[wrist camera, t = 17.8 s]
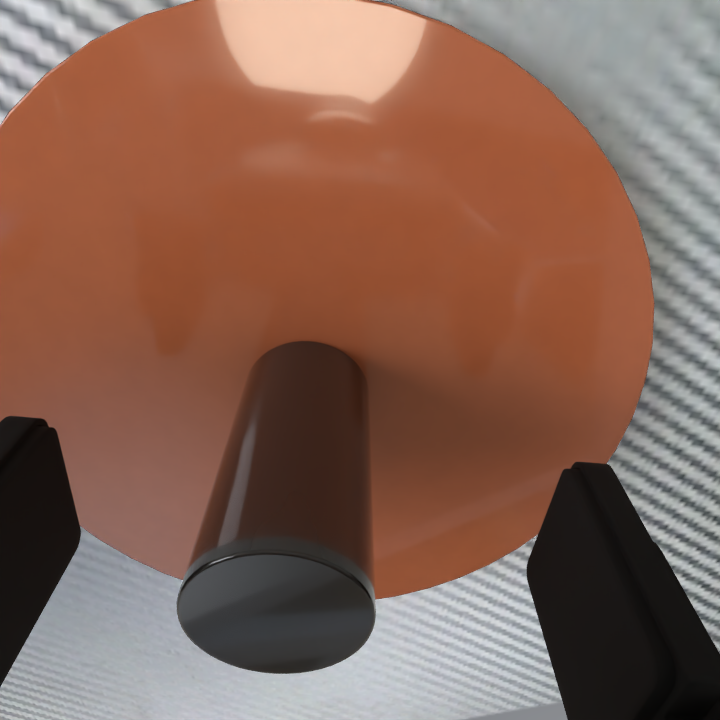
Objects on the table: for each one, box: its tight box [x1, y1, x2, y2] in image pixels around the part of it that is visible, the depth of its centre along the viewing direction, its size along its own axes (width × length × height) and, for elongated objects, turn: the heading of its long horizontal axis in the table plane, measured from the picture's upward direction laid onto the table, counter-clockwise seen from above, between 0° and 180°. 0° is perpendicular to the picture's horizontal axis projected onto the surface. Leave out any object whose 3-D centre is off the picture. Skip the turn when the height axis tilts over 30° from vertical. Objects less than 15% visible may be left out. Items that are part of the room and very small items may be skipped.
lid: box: [0, 0, 654, 674], centre depth 11 cm, size 16×16×7 cm
